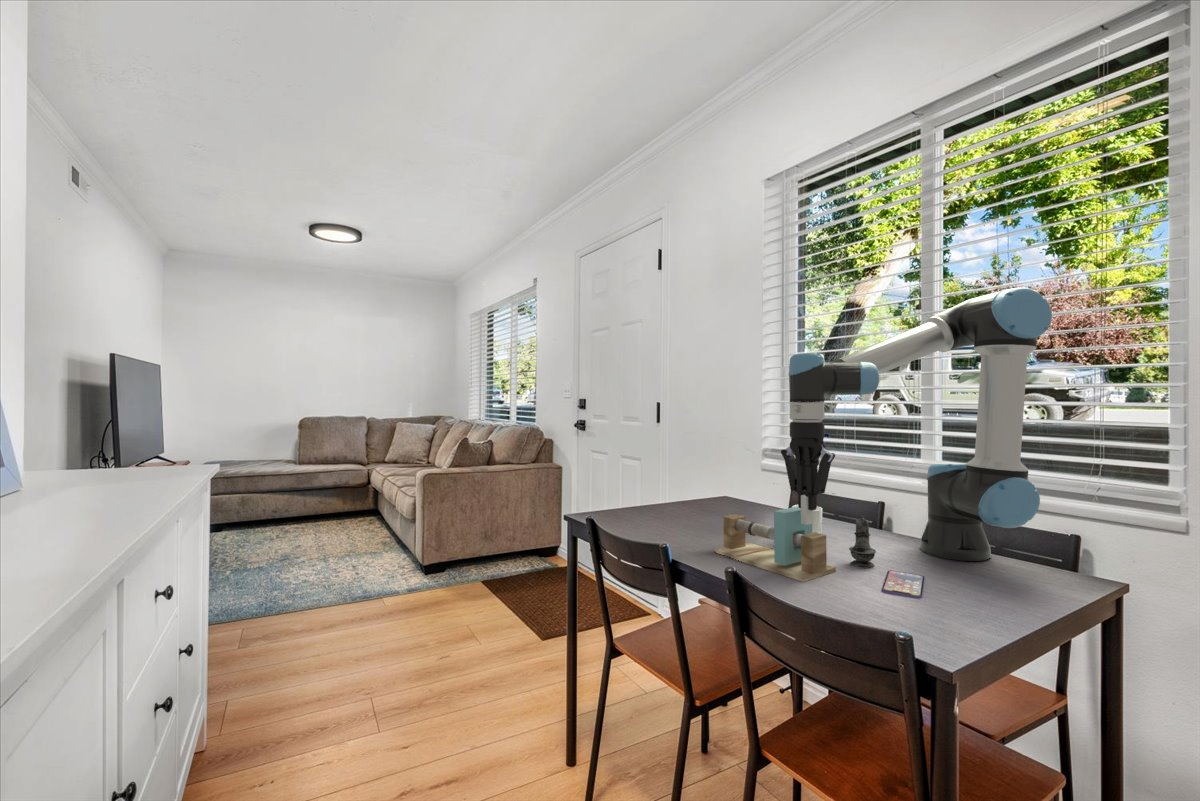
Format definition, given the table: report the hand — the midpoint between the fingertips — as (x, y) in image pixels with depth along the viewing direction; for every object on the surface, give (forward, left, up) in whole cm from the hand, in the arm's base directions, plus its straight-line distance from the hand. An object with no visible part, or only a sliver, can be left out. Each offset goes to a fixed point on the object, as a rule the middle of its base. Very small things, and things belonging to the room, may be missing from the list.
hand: (807, 523), depth 125 cm
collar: (+4, 0, -9) cm, 10 cm away
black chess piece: (-4, -16, -12) cm, 20 cm away
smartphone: (-17, -10, -12) cm, 23 cm away
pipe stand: (+10, 0, -11) cm, 16 cm away
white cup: (+15, -21, -12) cm, 29 cm away
